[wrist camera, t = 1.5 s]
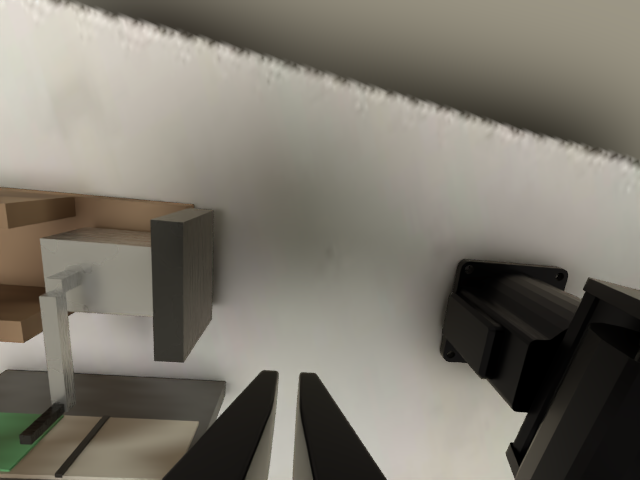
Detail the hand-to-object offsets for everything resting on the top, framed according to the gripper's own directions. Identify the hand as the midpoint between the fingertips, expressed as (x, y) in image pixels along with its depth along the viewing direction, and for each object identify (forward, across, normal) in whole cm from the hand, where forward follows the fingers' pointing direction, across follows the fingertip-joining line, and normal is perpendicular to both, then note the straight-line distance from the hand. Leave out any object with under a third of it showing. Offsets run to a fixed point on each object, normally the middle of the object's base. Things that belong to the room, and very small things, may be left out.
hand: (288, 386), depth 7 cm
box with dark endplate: (+9, +8, +1) cm, 12 cm away
